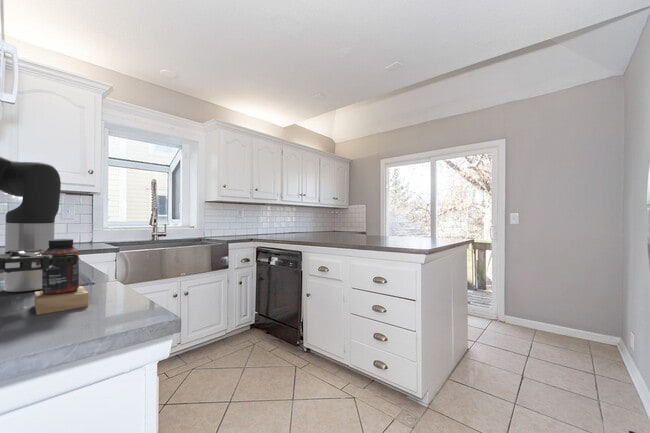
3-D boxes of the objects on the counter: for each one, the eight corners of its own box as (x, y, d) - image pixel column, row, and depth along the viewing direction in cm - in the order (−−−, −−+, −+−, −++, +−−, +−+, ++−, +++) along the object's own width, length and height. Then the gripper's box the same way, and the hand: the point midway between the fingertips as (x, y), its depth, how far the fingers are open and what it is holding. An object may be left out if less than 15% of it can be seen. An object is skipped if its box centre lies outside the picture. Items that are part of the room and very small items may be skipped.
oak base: (34, 305, 64) (34, 291, 64) (81, 298, 70) (82, 285, 70) (36, 314, 58) (37, 298, 58) (88, 306, 64) (88, 291, 64)
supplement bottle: (77, 287, 68) (78, 238, 68) (80, 292, 64) (81, 239, 64) (41, 291, 64) (42, 238, 64) (41, 296, 60) (43, 240, 60)
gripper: (-47, 247, 49) (79, 242, 61) (-38, 240, 58) (69, 237, 70) (-49, 292, 49) (78, 278, 61) (-39, 278, 58) (69, 269, 70)
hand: (73, 256), depth 65 cm, fingers open, 8 cm apart
